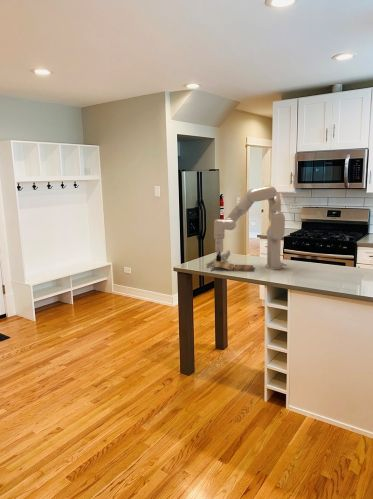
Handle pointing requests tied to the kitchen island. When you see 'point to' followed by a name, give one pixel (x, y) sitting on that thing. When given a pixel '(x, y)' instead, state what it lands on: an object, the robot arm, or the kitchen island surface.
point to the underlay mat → (226, 269)
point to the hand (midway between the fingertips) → (218, 261)
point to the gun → (221, 258)
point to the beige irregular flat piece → (223, 264)
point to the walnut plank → (243, 268)
